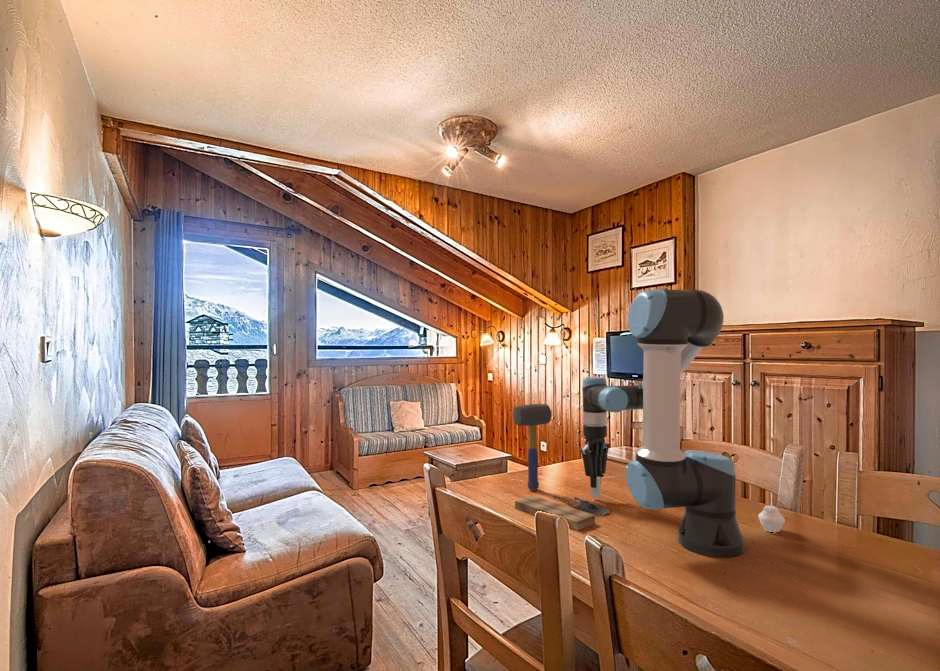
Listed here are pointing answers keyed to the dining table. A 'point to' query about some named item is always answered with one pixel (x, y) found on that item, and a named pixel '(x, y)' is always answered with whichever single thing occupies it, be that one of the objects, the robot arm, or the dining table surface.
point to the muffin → (771, 519)
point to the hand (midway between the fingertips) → (595, 496)
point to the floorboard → (556, 511)
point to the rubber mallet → (532, 434)
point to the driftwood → (588, 507)
